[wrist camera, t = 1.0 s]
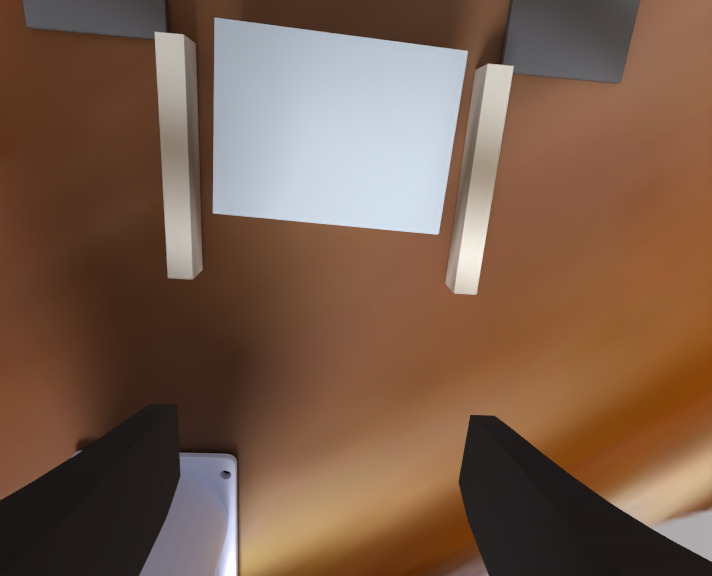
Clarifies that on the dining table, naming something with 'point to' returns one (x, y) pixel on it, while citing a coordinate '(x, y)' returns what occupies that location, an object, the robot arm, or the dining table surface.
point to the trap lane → (485, 122)
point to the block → (332, 127)
